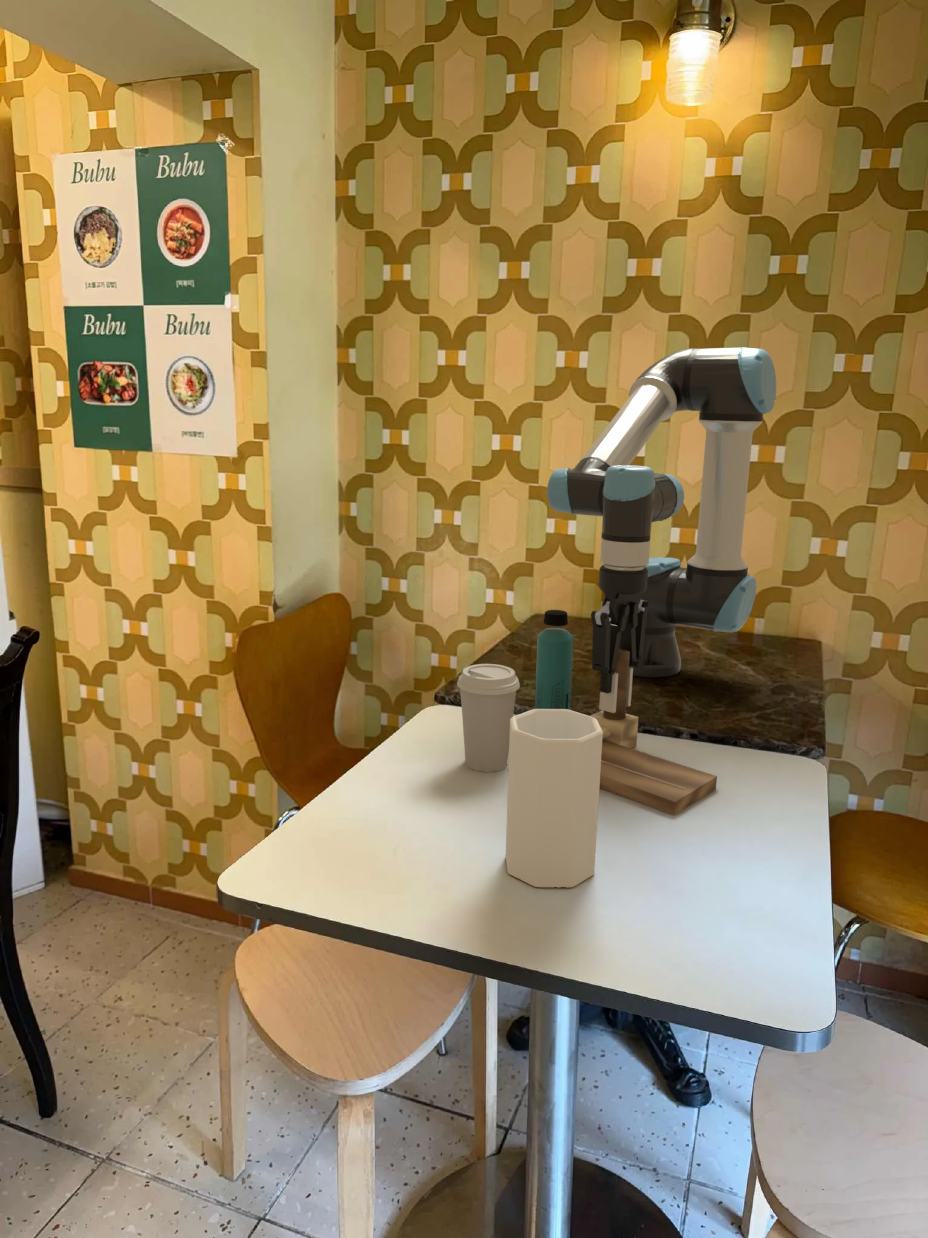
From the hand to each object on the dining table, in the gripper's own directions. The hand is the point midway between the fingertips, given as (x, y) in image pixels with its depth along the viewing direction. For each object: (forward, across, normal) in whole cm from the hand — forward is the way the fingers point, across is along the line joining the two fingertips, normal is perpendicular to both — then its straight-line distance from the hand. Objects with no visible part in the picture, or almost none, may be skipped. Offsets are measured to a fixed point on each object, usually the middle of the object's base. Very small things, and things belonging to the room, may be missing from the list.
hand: (615, 707), depth 147 cm
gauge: (+7, +5, 0) cm, 8 cm away
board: (+7, +10, +7) cm, 14 cm away
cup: (+7, +38, +16) cm, 42 cm away
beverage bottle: (+7, -1, -14) cm, 15 cm away
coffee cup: (+7, +21, -10) cm, 24 cm away
